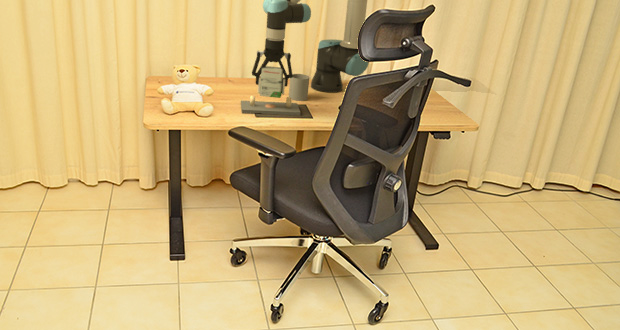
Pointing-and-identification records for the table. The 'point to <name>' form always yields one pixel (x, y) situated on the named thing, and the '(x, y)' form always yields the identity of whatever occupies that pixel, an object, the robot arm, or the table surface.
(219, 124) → the table surface
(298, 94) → the cup
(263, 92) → the ink box
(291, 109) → the board
